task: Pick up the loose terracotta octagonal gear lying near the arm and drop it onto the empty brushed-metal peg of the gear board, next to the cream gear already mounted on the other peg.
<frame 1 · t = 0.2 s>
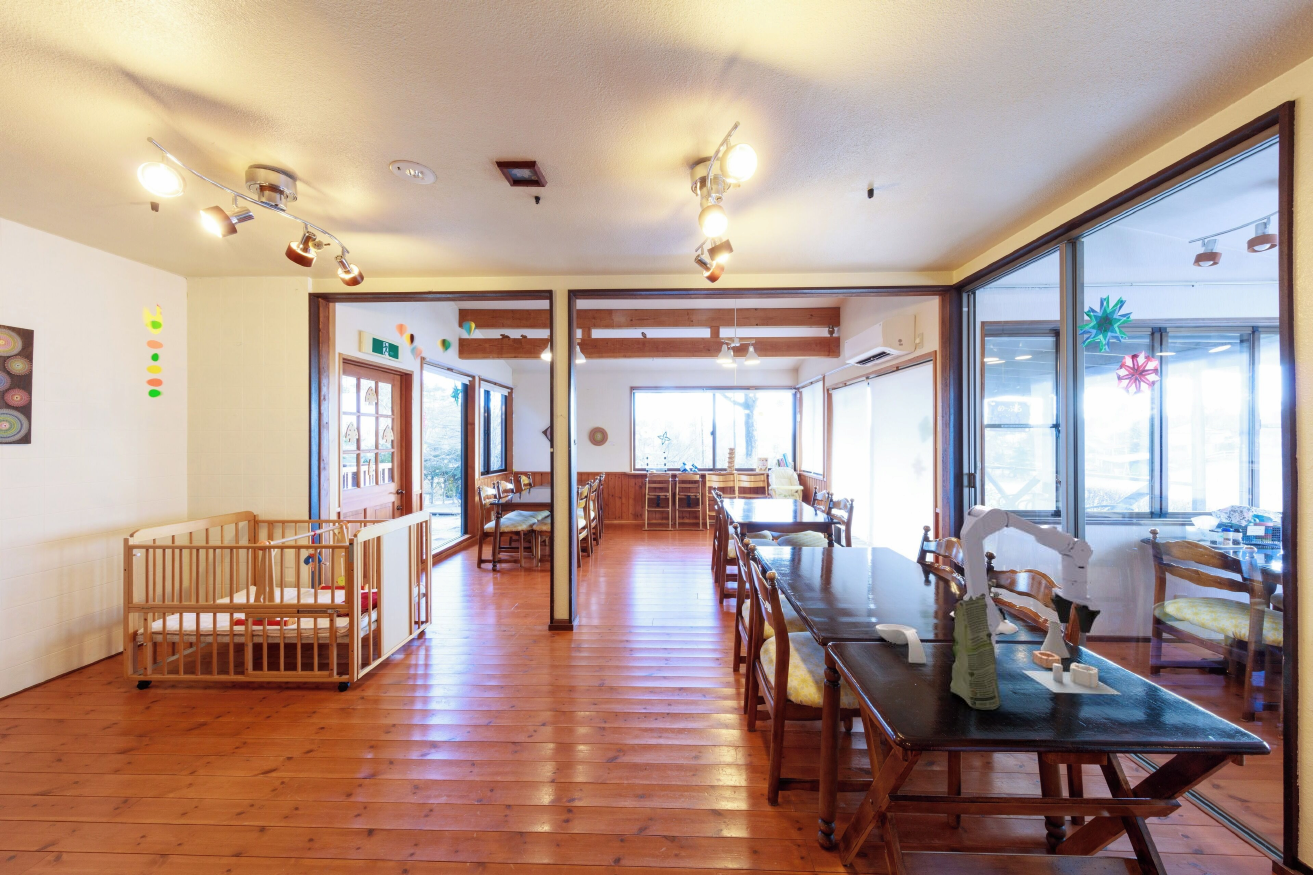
hand: (1074, 627, 144), 10 cm above the table, fingers open, 7 cm apart
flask: (1055, 657, 148), on the table
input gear: (1046, 667, 140), on the table
figurine: (982, 625, 175), on the table
spoon rest: (903, 648, 154), on the table
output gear: (1084, 681, 130), point 1 cm above the table, touching gear board
gear board: (1069, 685, 129), on the table
pouch: (973, 700, 122), on the table
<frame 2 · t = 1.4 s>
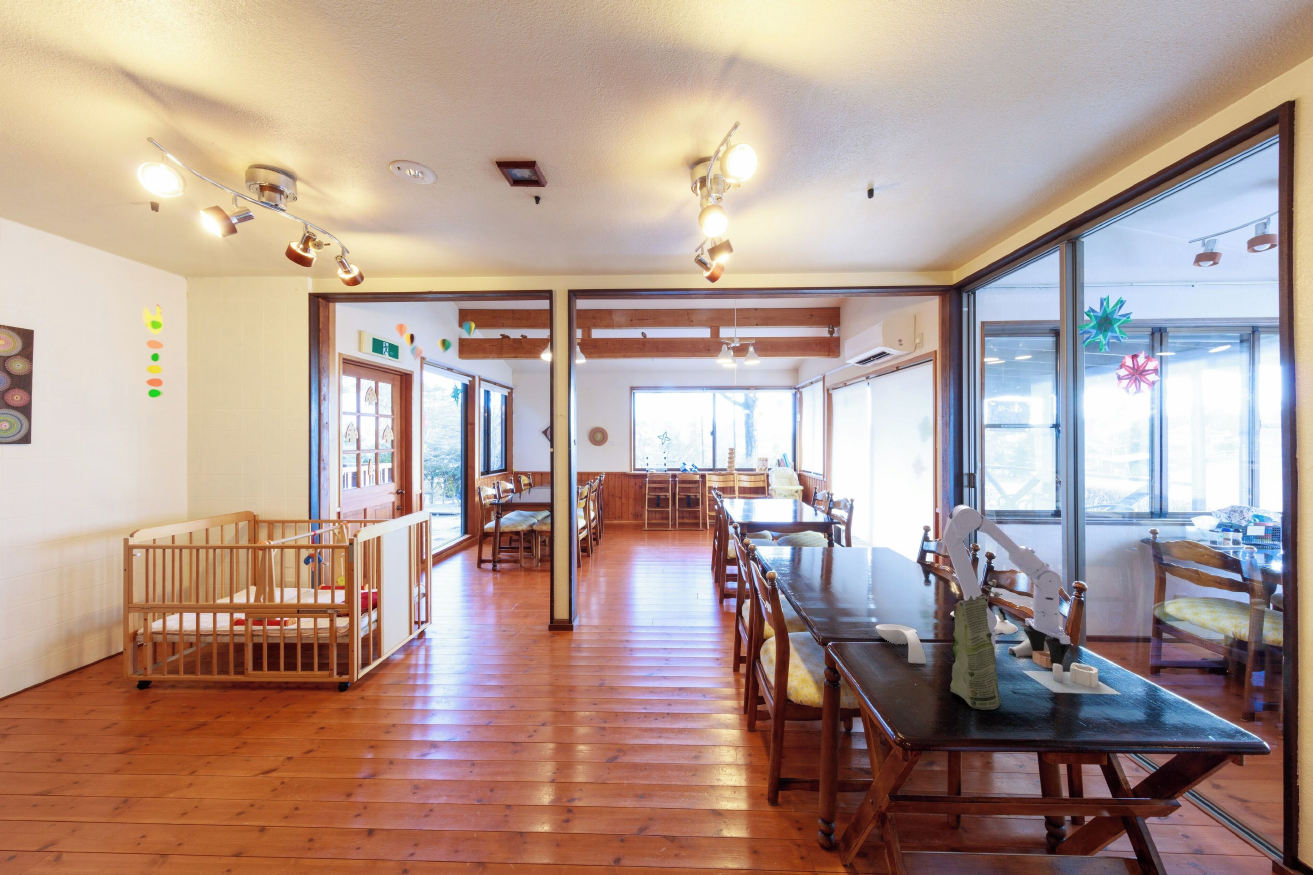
hand: (1047, 660, 140), 2 cm above the table, fingers open, 6 cm apart
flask: (1043, 645, 148), point 3 cm above the table, touching gripper
everything else where it was.
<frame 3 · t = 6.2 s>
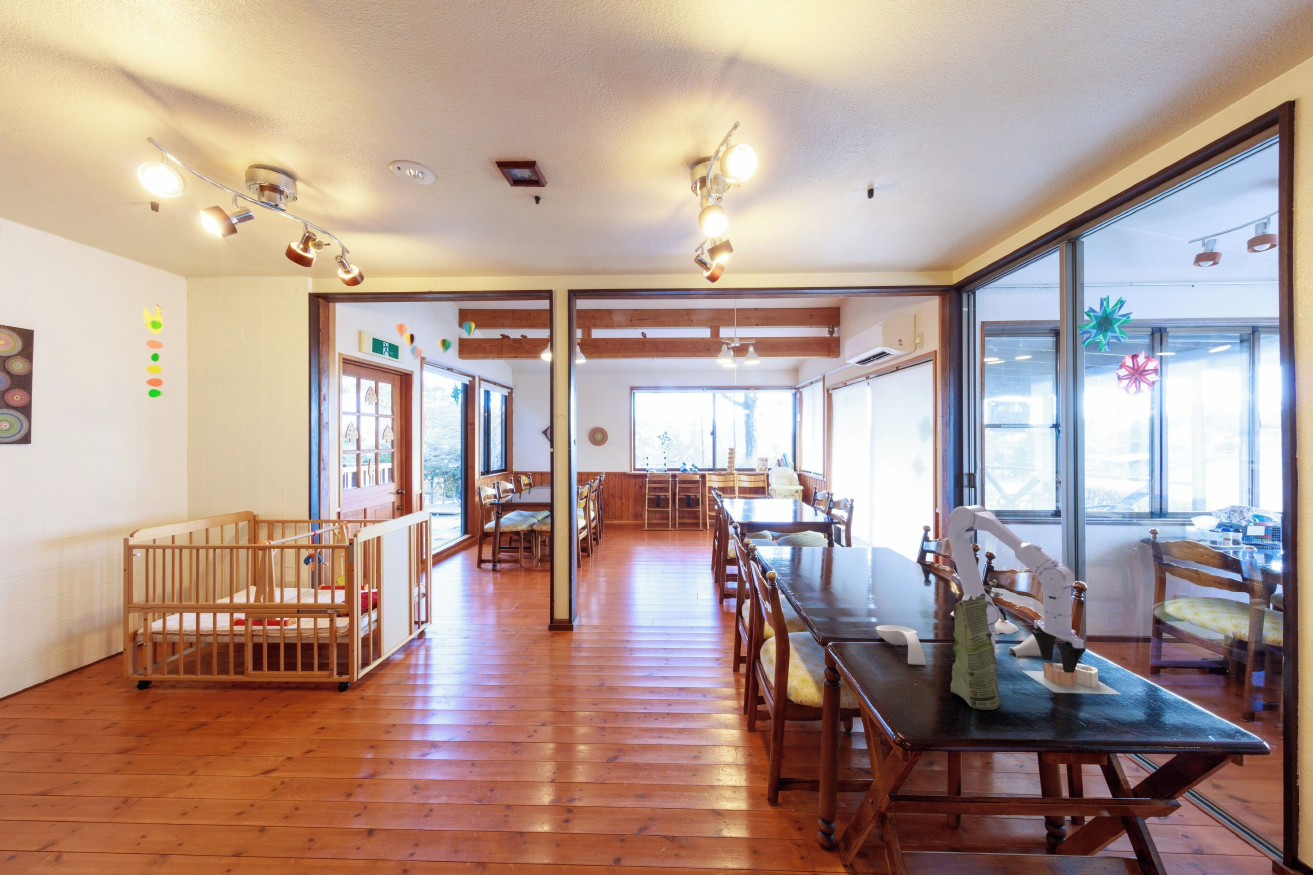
hand: (1057, 665, 130), 5 cm above the table, fingers open, 7 cm apart
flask: (1043, 644, 148), point 3 cm above the table
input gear: (1059, 680, 130), point 1 cm above the table, touching gear board
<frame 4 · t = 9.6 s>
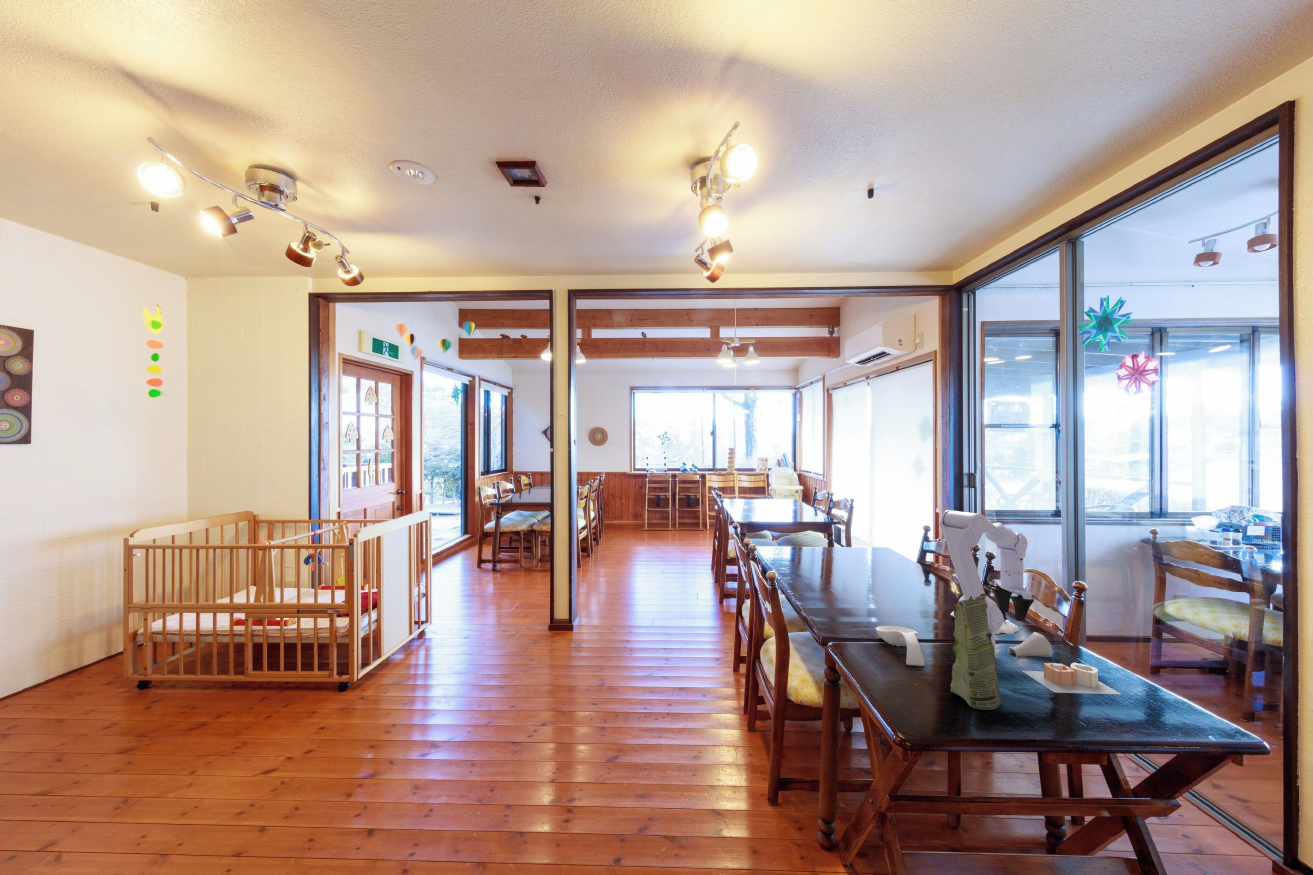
hand: (1012, 616, 154), 10 cm above the table, fingers open, 7 cm apart
at the end: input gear 0.2 cm from the target spot on the gear board, point 1.0 cm above the gear board's base; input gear tilted 0°; the gripper is holding nothing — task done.
